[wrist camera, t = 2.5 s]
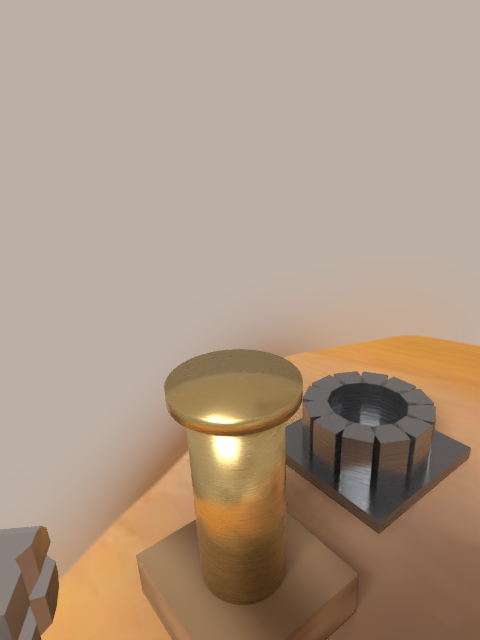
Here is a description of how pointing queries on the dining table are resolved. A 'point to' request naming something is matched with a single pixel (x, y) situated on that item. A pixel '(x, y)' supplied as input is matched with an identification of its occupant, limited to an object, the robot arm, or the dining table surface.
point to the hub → (370, 445)
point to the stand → (255, 619)
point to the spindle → (238, 465)
